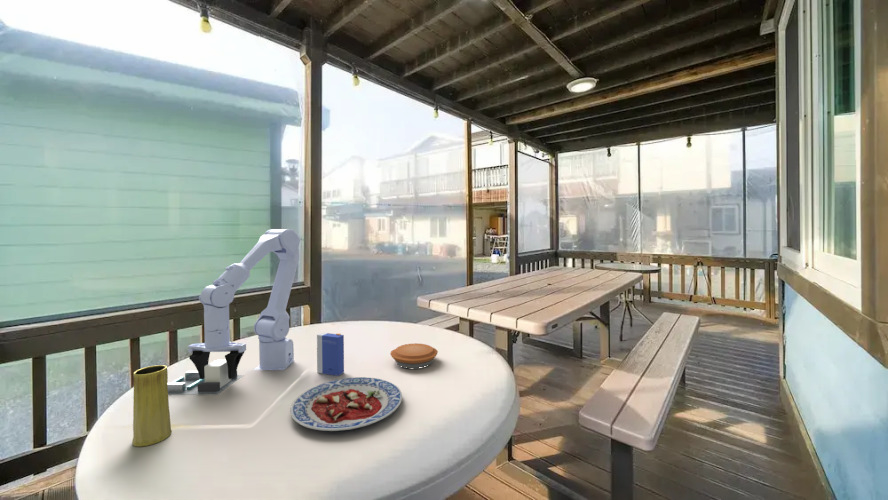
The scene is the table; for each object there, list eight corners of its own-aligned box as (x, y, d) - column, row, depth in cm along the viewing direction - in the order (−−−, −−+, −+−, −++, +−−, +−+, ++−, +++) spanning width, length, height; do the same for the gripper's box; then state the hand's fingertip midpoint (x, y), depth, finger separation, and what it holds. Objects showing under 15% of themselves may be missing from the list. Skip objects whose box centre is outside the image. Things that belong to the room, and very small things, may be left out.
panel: (243, 377, 99) (243, 375, 99) (217, 396, 87) (217, 394, 87) (188, 377, 99) (188, 375, 99) (154, 397, 87) (154, 394, 87)
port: (209, 377, 97) (209, 370, 97) (186, 391, 88) (186, 384, 88) (184, 377, 97) (184, 371, 97) (158, 392, 88) (158, 384, 88)
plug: (231, 380, 95) (230, 359, 95) (220, 388, 90) (219, 366, 90) (217, 380, 95) (216, 359, 95) (204, 388, 90) (204, 366, 90)
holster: (237, 377, 98) (237, 370, 97) (217, 391, 89) (216, 384, 88) (219, 377, 97) (219, 370, 97) (197, 391, 88) (197, 384, 88)
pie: (446, 360, 113) (446, 345, 113) (419, 376, 100) (419, 359, 100) (410, 351, 122) (410, 338, 122) (380, 365, 109) (380, 350, 108)
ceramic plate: (294, 454, 64) (294, 438, 64) (287, 397, 87) (287, 386, 87) (418, 420, 76) (418, 407, 76) (384, 378, 99) (384, 368, 99)
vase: (178, 432, 71) (176, 366, 70) (144, 450, 65) (142, 377, 65) (159, 427, 73) (157, 362, 72) (124, 443, 67) (122, 373, 67)
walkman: (344, 372, 103) (343, 333, 102) (338, 376, 100) (338, 336, 100) (323, 369, 105) (322, 331, 105) (316, 372, 103) (316, 333, 102)
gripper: (179, 332, 88) (180, 383, 89) (235, 332, 89) (236, 383, 89) (198, 325, 95) (199, 373, 96) (250, 325, 96) (250, 372, 96)
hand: (218, 377), depth 93 cm, fingers open, 7 cm apart
